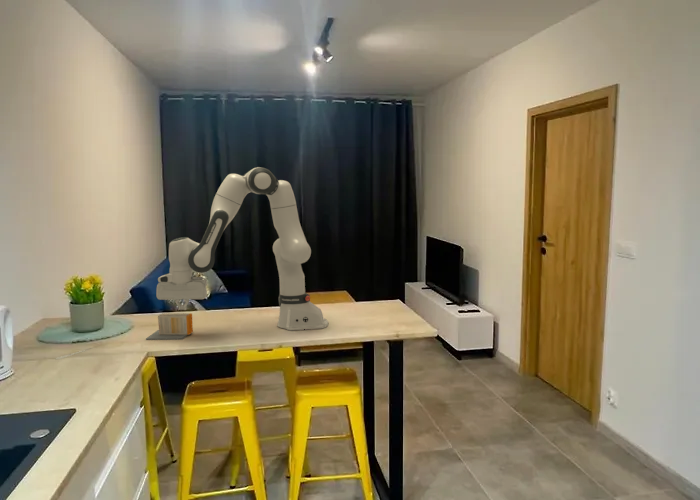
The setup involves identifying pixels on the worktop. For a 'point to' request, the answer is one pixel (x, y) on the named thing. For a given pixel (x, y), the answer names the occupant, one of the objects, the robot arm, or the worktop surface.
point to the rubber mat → (165, 337)
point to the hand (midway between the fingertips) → (182, 309)
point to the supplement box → (175, 323)
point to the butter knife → (68, 355)
